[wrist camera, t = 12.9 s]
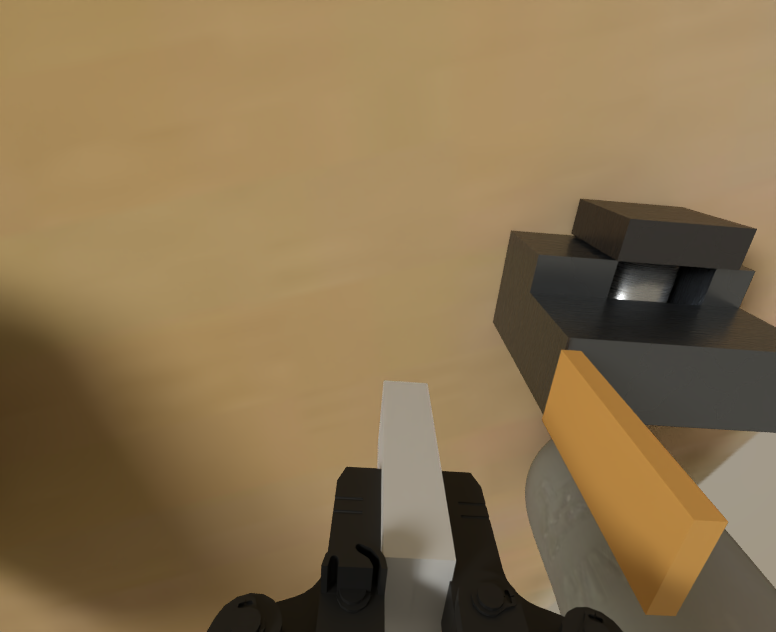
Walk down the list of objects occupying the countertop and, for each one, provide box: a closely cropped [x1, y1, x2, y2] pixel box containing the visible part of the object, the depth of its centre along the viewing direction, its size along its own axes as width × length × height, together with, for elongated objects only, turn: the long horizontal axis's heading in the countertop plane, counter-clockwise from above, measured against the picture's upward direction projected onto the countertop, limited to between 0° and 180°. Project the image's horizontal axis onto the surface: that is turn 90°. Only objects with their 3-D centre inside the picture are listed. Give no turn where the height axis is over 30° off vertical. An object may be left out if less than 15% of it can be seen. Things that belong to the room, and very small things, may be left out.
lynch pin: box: [572, 199, 757, 303], centre depth 25 cm, size 6×11×6 cm, turn 175°
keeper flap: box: [542, 350, 728, 616], centre depth 14 cm, size 8×3×1 cm
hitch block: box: [493, 231, 776, 433], centre depth 23 cm, size 11×6×10 cm, turn 85°
